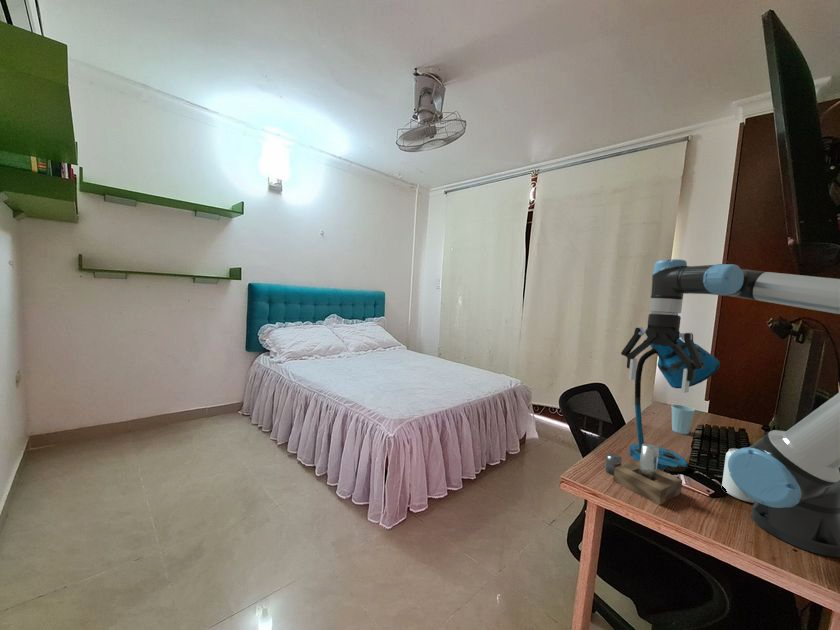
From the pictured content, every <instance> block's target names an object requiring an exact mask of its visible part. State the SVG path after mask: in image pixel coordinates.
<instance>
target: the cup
mask: <svg viewBox="0 0 840 630" xmlns="http://www.w3.org/2000/svg"><path fill="white" fill-rule="evenodd" d="M695 411H696V410H695V409H694V408H691V407H689V406H686V405H682V404H681V405H680V404H671V431H673V432H675V433H677V434H680V435H689V433H690V429H691V426H692V423H693V419H694V415H695Z"/></svg>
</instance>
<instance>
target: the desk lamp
mask: <svg viewBox="0 0 840 630" xmlns="http://www.w3.org/2000/svg"><path fill="white" fill-rule="evenodd" d="M647 338H648V337H647V336H646V339H647ZM676 341H677V342H678V343H679V345H680V347H681V348H682V349H683V351H684V352H685V353H686V354H687V355H688V357H689V358H690V359H691V360H692V362H693V359H692V357H691V355H690V353H689V351H688V349H687V346H686V344H685V341H683V340H682V338H679V339H678V340H676ZM694 344H695V346H696V348H697V350H698V352H699V354H700V356H701V359H702V361H703V363H704V365H705V367H704V368H702V369H696V370H695V377H694V381H690V383H689V388H691V387H693V386H696V385H698V384H700V383H701V384H702V382H704V381H706V380H707V379H709V378H710V377H712V376H713V375H714V374H715V373H716V372H717V371H718V370H719V368H720V367H721V366H720V365H721V362H720V360H719V359H718V358H717V357H715V356H714V355H713V354H711V353H710V352H708V350H705V349H704V348H703V347H702V346H700V345H698V343H695V342H694ZM649 347H651V349H650V350H648V351H646V352H644V353H643V354H642V355H641V356H640V357H639V360H637V368H636V378H635V380H634V408H635V409H634V411H635V413H634V414H635V425H636V433H637V441H638V443H633V444H631V445H630V446H629V448H628V449H629V451H628V453H629V456H631V458H632V459H634V460H639V461H640V457H641V448H642V444H644V443H645V440H644V430H643V424H642V423H643V422H642V419H643V418H642V408H641V400H642V399H641V392H642V391H641V389H642V385H641V383H642V376H643V375H642V373H643V369H644V364H645V362H646V360H648V359H649V358H650V357H652V356H653V355H657V356H658V359H657V368H658V369H659V371H660V372H661V373H662V375H663V377H664V379H665V380H666V381H667V383H668V384H669V386H670V387H671V388H674V389H682V380H683V371H684V369H686V368H687V367H686V366H685V364H684V363H683V362H682V360H681V359H680V358H679V357H678V355H677V354H676V353H675V352H674V350H673V349H672V348H671V347H670V346H662V345H654V344H651V345H649ZM693 363H694V362H693ZM655 446H656V447H658V448H659V454H658V463H657V469H659V470H661V471H664V469H665V468H668V467H677V466H679V467H687V468H688V462H687V460H686V459H685V458H684V457H683V456H681V455H680V454H678V453H676V452H674V451H672V450H669V449H667V448H665V447H664V448H663V447H660V446H657V445H655Z"/></svg>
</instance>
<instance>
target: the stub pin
mask: <svg viewBox="0 0 840 630" xmlns="http://www.w3.org/2000/svg"><path fill="white" fill-rule="evenodd" d="M620 465H622V456H620V455H619V454H615V453H609V452H608V453H606V459H605V469H604V471H605V473H607V474H608V475H611V476H614V468H615V467H618V466H620Z"/></svg>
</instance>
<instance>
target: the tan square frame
mask: <svg viewBox="0 0 840 630" xmlns="http://www.w3.org/2000/svg"><path fill="white" fill-rule="evenodd" d="M639 466H640V461H639V460H636V459H634V460H632V461H629V462H626V463H624V464H621V465H620V466H618V467H615V468H614V475H613V477H612V478H613V479H612V481H613V482H614V483H616V484H618V485H620V486H622V487H624V488H625V489H627V490H630V491H631V492H633V493H635V494H638V495H639V496H641V497H643V498H645V499H647V500H648V501H650V502H652V503H654V504H656V505H658V506H660V505H662V504H664V503H666V502H668V501H670V500H671V499H673V498H675V497H678V496H679V495H681V494H682V487H683V479H682V478H678V477H677V476H675V475H672V474H670V473H668V472H667V471H666V472H665V471H664V470H660V469H657V471H656V480H655V481H652V480H650V479H648V478H646V477H644V476H642V475H640V474H639Z"/></svg>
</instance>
